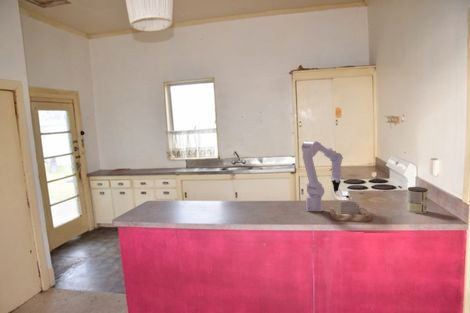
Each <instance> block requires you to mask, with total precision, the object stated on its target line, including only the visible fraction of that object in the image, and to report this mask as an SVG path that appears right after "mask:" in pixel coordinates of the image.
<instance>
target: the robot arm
mask: <svg viewBox="0 0 470 313" xmlns="http://www.w3.org/2000/svg"><path fill="white" fill-rule="evenodd" d="M300 148H301V151H302V159H303V160H302V161H303V163H304V168H305V171H306V176H307V180H308V183H307V184H306V192H307V194H308V195H307V196H306V197H305V198H306V199H305V200H306V201H305V208H306V212H323V211H324V210H323V208H322V197H323V196H324V194H325V188H324V186H323V184H322V183H321V182H320V181H319V179H318V175H317V170H316V167H315V163H314V159H313V158H314V157H315V156H316V154H318V152H320V153H323V155H324V156H325V157H326V158H327V159H329V160H330V162H331V179H332V180H331V184H332V187H333V191H334V192H338V191H339V187H340V185H341V180H342V179H343V177H342V176H341V171H342V170H341V168H342V161H343V159H344V157H343V154H341V153H340V152H337V151H336V150H333V148H332V147H328V148H327V147H326V146H324V145H322V144H321V142H318V141H309V140H305V141H304V142H303V143H302V144H301V147H300Z"/></svg>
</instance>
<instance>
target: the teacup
mask: <svg viewBox="0 0 470 313" xmlns="http://www.w3.org/2000/svg"><path fill="white" fill-rule="evenodd" d="M339 211H340V214H357V215H360V214H359V213H360V203H359V201H355V200H343V201H340V202H339Z"/></svg>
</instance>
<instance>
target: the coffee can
mask: <svg viewBox="0 0 470 313" xmlns="http://www.w3.org/2000/svg"><path fill="white" fill-rule="evenodd" d="M427 208H428V189H427V188H426V187H422V186H409V187H407V212H409V213H413V214H420V215H421V214H427V210H428V209H427Z"/></svg>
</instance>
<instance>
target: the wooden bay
mask: <svg viewBox="0 0 470 313" xmlns="http://www.w3.org/2000/svg"><path fill="white" fill-rule="evenodd" d="M359 213H360V214H358V215H357V214H341V213H337V212H336V210H335V209H334V207H333V206H329V214H330V216H331V218H332V220H333V221H346V222H347V221H350V222H351V221H354V222H372V216H371V214H370V213H369V212H368V211H367V210H366V209H365V207H359Z"/></svg>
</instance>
